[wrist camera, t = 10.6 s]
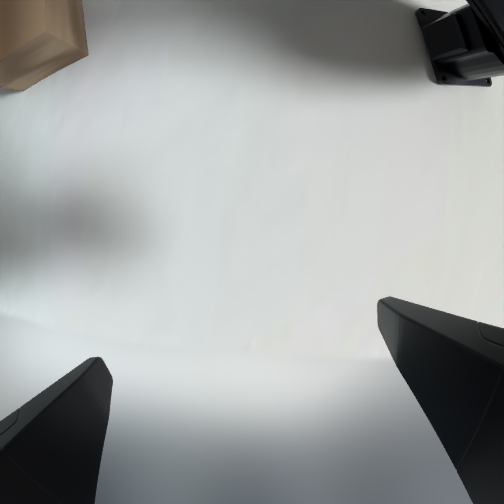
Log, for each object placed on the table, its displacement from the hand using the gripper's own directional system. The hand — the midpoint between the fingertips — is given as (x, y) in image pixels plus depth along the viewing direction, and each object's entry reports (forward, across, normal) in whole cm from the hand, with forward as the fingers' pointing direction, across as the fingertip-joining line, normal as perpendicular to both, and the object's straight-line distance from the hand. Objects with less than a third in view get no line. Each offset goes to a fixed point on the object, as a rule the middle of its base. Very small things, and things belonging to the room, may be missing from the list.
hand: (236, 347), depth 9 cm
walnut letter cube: (+12, +10, -18) cm, 24 cm away
